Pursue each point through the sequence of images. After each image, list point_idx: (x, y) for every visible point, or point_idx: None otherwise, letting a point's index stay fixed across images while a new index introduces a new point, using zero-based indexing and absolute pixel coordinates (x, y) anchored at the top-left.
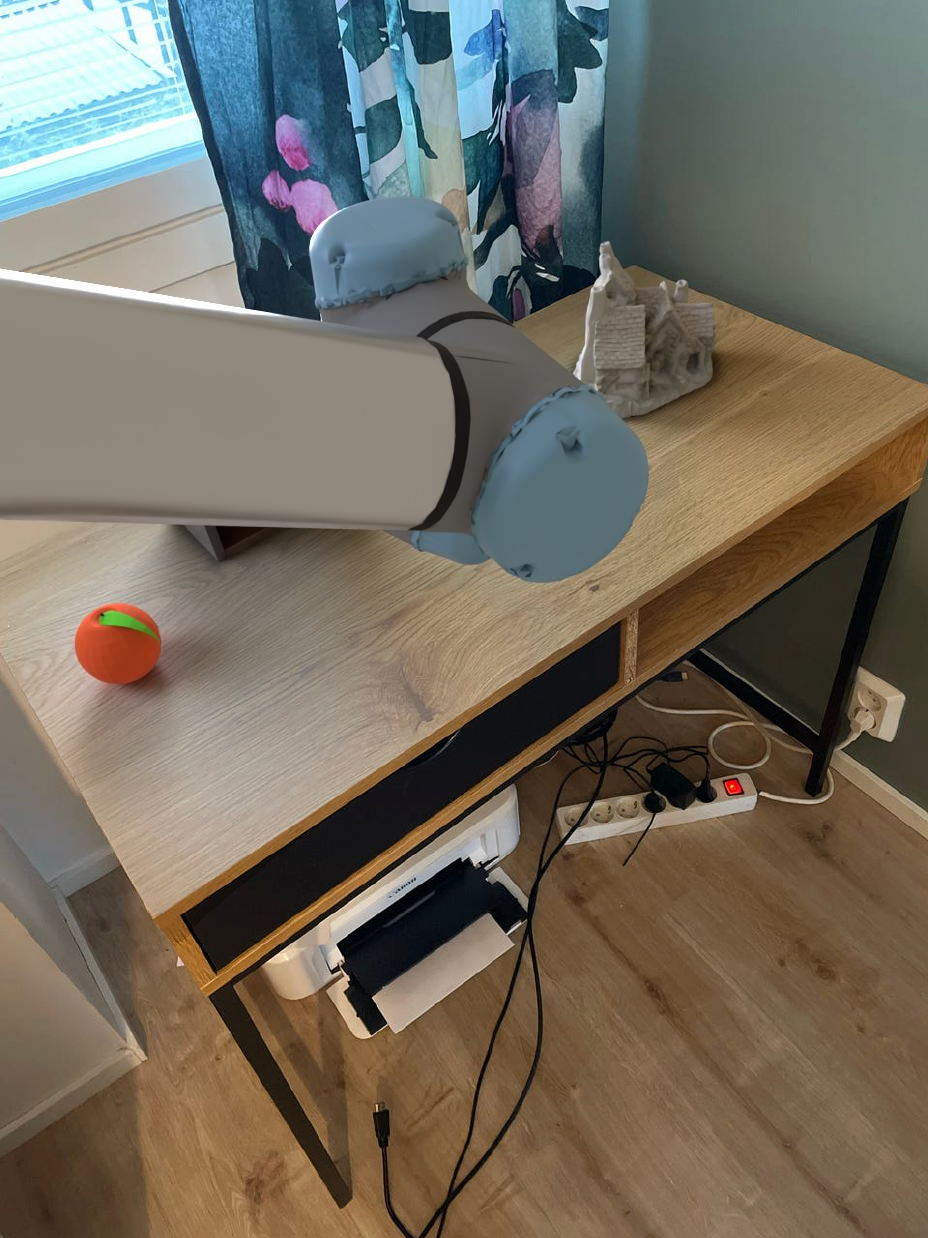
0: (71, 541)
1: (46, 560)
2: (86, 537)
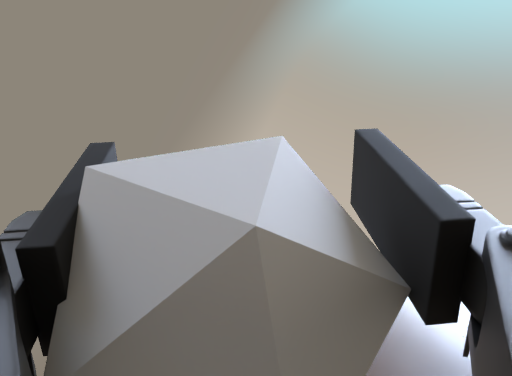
0: None
1: None
2: None
